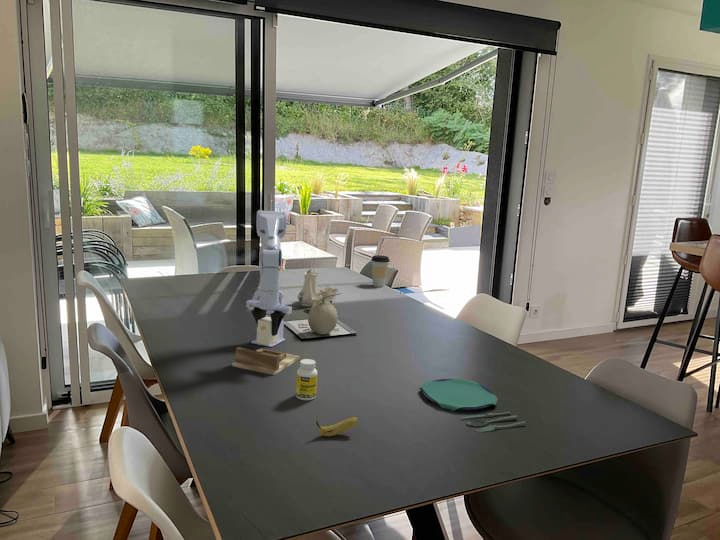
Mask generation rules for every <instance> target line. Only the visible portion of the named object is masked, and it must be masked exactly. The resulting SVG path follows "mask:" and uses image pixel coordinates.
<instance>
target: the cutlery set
mask: <svg viewBox="0 0 720 540" xmlns="http://www.w3.org/2000/svg"><path fill="white" fill-rule="evenodd" d="M419 390H420V391H421V392H422V394H423V395H424V397H425V398H426V399H428V401H430V402H432V403H433V404H437V405H438V406H440V408H442V409H444V410H449V411H453V412H455V411H456V410H462V411H463V410H464V411H477V410H481V409H485V408H486V409H487V408H488V407H490V406H492V405H494V407H496V406H497V404H498V402H499V401H498V397H497V395H495V393H494V392H493V391H492V390H490V389H489V388H488V387H486V386H484V385H482V384H480V383H478V382H476V381H473V380H467V379H463V378H458V377H457V378H456V377H455V378H439V379H434V380H428V381H425V382H424V383H423V384H422V385H421V386H420V387H419ZM499 415H500V416H501V415H509V416H504V417H499V418H496V419H492V420H486V419H481V418H489V417H492V418H493V417H495V416H499ZM518 417H519V416H518V415H511V412H510V411H507V412H506V411H504V412H496V413H493V412H489V413H487V412H485V414H477V415H469V416H463V417H461V420H462V421H464V420H468V421H467V422H466V424H467V425H468V426H470V427H476V429H475V428H473V431H474V432H475V433H477V434H478V433H487V432H495V431H496V430H498V429H510V428H511V429H512V428H516V427H525V426H526V425H527V423H526V421H519V422H514V423H511V424H505V425H496V424H494V425H492V424H489V423H495V422H501V421H509V420H518V419H519V418H518ZM475 422H476V423H478V422H479V423H484V424H481V425H473V424H472V423H475ZM487 424H489V425H488V426H487ZM477 427H480V428H477Z"/></svg>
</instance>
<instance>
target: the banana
mask: <svg viewBox="0 0 720 540" xmlns="http://www.w3.org/2000/svg"><path fill="white" fill-rule="evenodd" d="M358 421H359V418H358V417H356V416H355V417H354V416H353V417H349V418H346V419H343V420H342V421H340V422H337V423H336V424H332V425H327V426H322V425H320V424H319V420H316V422H315V424H316V426H317V427H318V431H319V434H321V436H324V437H334V436H338V435H340V434H342V433H344V432H346V431H348V430H350V429H351V428H353V427H354V426H355V425H356V424H357V423H358Z"/></svg>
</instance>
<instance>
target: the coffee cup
mask: <svg viewBox="0 0 720 540" xmlns="http://www.w3.org/2000/svg"><path fill="white" fill-rule="evenodd" d="M389 262H391V261H390V259H389V256H388V255H387V256H386V255H378V254H377V255H373V256H372V257H371V264H372V265H371V273H372V275H371V276H372V286H373V287H378V288H383V287H382V286H384V287H385V283H386V279H387V273H388V267H389Z"/></svg>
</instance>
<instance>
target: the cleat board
mask: <svg viewBox="0 0 720 540" xmlns="http://www.w3.org/2000/svg"><path fill="white" fill-rule="evenodd" d="M234 353H235V356H234V357H235V361H233V362H232V363H231V364H232V365H231V366H232V367H235V368H239V369H244V370H248V371H253V372H257V373H262V374H267V375H271V376H275V375H277V374H278V373H280V372H281V371H283V370H285V369H286V368H288V367H290V366H291V365H293V364H295V363H296V362H298V361H299V360H300V359H301V356H300V355H296V354H291V353H286V352H281V351H276V350H271V349H266V348H263V347H262V348H259V349H256V350H254V349H249V348H243V347H236V348H235V352H234Z"/></svg>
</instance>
